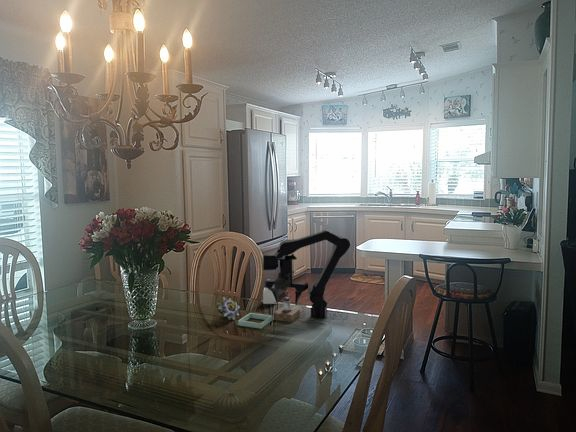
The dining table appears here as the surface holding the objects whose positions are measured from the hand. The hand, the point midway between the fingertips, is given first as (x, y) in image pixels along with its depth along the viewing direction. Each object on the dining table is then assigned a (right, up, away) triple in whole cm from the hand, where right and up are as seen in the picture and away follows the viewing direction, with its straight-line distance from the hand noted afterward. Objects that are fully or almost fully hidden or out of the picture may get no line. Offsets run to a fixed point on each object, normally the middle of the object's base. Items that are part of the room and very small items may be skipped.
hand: (286, 303), depth 198 cm
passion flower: (-27, -8, +4) cm, 28 cm away
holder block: (0, -7, +1) cm, 7 cm away
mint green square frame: (-14, -8, -5) cm, 17 cm away
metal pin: (0, -6, +1) cm, 6 cm away
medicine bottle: (-8, -5, +25) cm, 27 cm away
